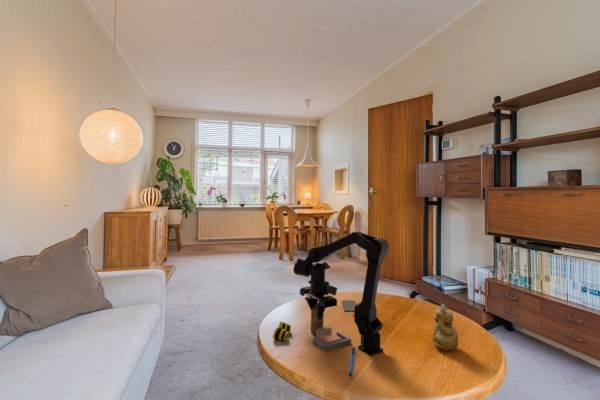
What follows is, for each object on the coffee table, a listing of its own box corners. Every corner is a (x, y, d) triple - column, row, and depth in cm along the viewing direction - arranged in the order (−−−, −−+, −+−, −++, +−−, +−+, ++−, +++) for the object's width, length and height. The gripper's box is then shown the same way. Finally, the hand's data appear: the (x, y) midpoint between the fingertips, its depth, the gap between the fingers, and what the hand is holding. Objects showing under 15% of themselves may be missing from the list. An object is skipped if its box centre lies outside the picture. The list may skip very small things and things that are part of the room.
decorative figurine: (434, 339, 115) (434, 300, 116) (458, 344, 112) (458, 304, 112) (432, 350, 107) (432, 308, 107) (458, 356, 103) (459, 312, 103)
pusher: (331, 336, 117) (332, 313, 117) (318, 339, 114) (319, 316, 114) (320, 328, 124) (321, 306, 123) (307, 331, 121) (308, 309, 120)
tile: (341, 343, 112) (341, 338, 112) (328, 347, 109) (328, 342, 109) (331, 337, 117) (331, 332, 117) (318, 340, 114) (318, 335, 114)
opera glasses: (285, 345, 111) (288, 332, 111) (271, 341, 112) (274, 328, 112) (290, 334, 121) (293, 322, 121) (278, 330, 122) (280, 318, 122)
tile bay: (351, 343, 112) (351, 339, 112) (324, 351, 106) (324, 346, 106) (338, 335, 118) (338, 331, 118) (312, 342, 112) (312, 338, 112)
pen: (354, 348, 108) (355, 345, 108) (351, 379, 90) (351, 375, 90) (352, 348, 108) (352, 345, 108) (348, 378, 90) (348, 375, 90)
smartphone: (344, 310, 144) (342, 300, 159) (344, 312, 144) (341, 301, 159) (358, 311, 143) (355, 300, 158) (358, 313, 143) (355, 302, 158)
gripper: (348, 281, 116) (348, 322, 116) (321, 271, 133) (320, 307, 133) (324, 285, 111) (324, 328, 111) (299, 274, 127) (298, 311, 127)
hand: (317, 317), depth 121 cm, fingers closed on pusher, 3 cm apart
